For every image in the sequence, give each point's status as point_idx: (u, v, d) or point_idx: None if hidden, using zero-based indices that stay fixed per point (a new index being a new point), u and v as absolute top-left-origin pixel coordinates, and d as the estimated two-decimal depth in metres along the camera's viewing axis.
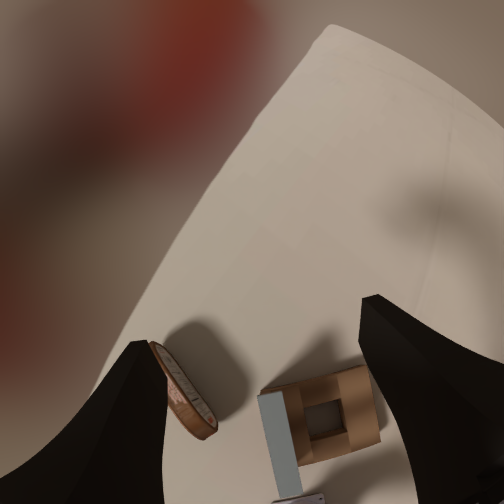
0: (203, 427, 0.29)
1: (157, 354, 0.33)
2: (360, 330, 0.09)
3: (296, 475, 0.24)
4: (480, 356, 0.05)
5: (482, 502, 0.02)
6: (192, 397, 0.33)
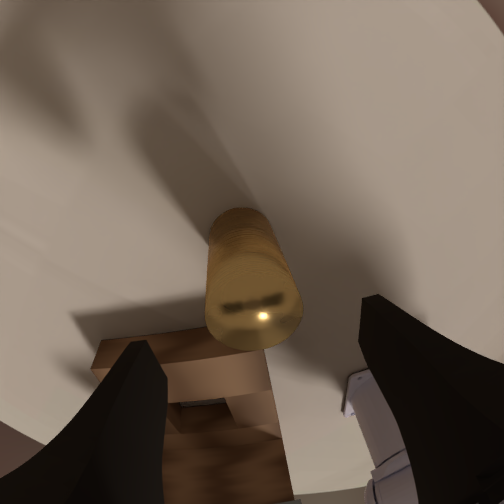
0: None
1: None
2: (360, 330, 0.09)
3: None
4: (480, 356, 0.05)
5: (482, 502, 0.02)
6: None
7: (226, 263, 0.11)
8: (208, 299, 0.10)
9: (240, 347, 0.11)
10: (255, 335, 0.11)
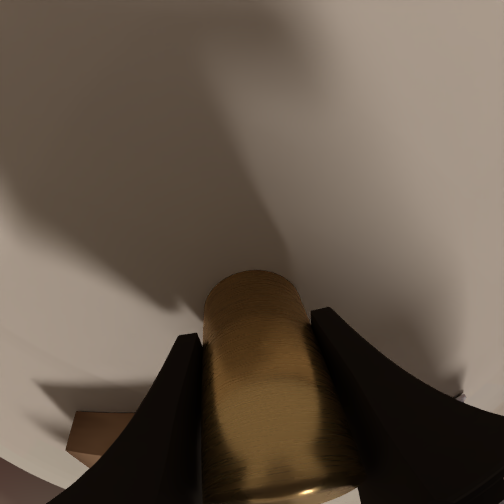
0: None
1: None
2: None
3: None
4: (424, 385, 0.05)
5: None
6: None
7: (235, 432, 0.05)
8: (207, 494, 0.04)
9: None
10: None
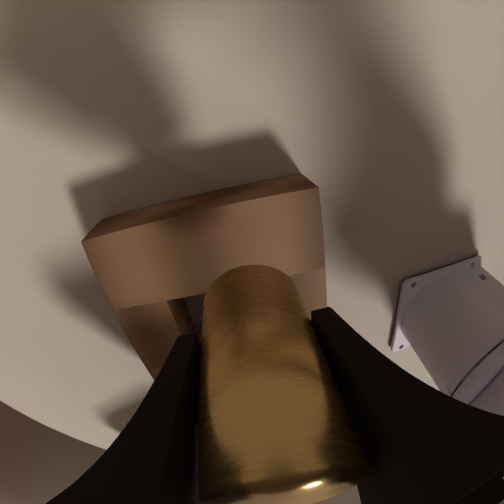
0: None
1: None
2: None
3: None
4: (424, 385, 0.05)
5: None
6: None
7: (239, 421, 0.05)
8: (205, 486, 0.04)
9: None
10: None
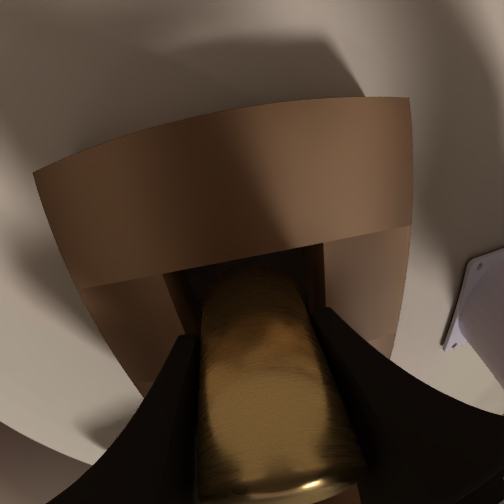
0: None
1: None
2: None
3: None
4: (424, 385, 0.05)
5: None
6: None
7: (239, 420, 0.05)
8: (205, 485, 0.04)
9: None
10: None
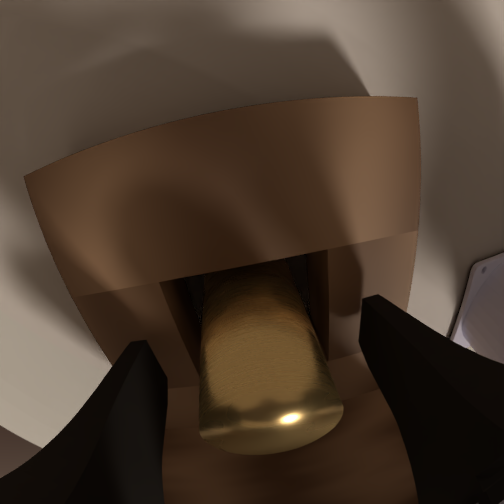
0: None
1: None
2: (360, 330, 0.09)
3: None
4: (480, 356, 0.05)
5: (482, 502, 0.02)
6: None
7: (233, 353, 0.06)
8: (205, 411, 0.06)
9: (245, 452, 0.07)
10: (269, 443, 0.07)
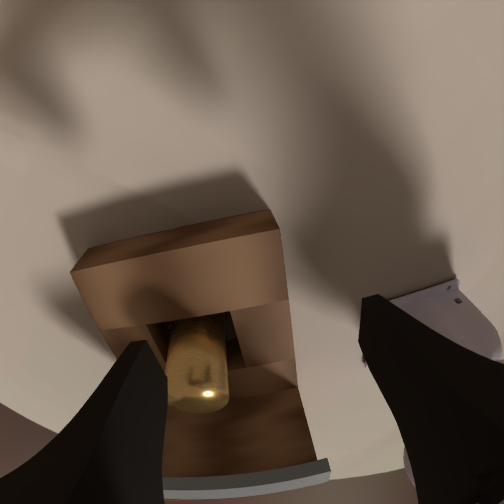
0: None
1: None
2: (360, 330, 0.09)
3: (285, 482, 0.13)
4: (480, 356, 0.05)
5: (482, 502, 0.02)
6: None
7: (177, 361, 0.14)
8: None
9: (187, 411, 0.15)
10: (197, 406, 0.14)
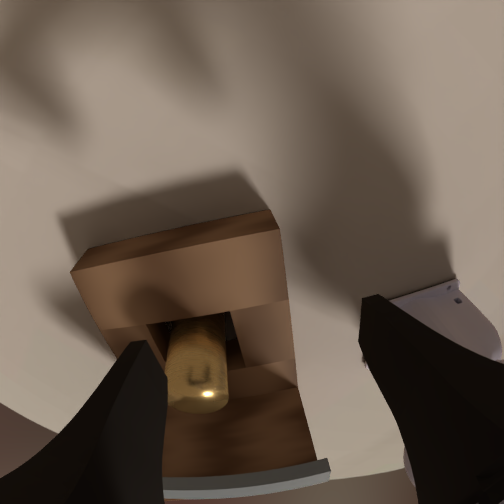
0: None
1: None
2: (360, 330, 0.09)
3: (285, 482, 0.13)
4: (480, 356, 0.05)
5: (482, 502, 0.02)
6: None
7: (176, 361, 0.14)
8: None
9: (186, 411, 0.15)
10: (196, 406, 0.14)
